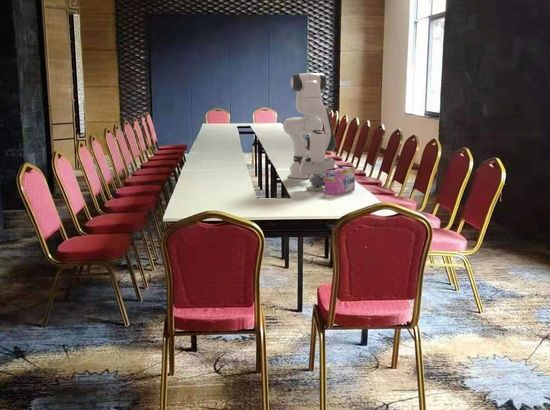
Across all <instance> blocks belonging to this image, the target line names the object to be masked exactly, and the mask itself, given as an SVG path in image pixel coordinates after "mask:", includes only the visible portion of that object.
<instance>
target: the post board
mask: <svg viewBox="0 0 550 410" xmlns="http://www.w3.org/2000/svg"><path fill="white" fill-rule="evenodd" d="M306 190H307V191H308V192H311V191H312V192H314V191H316V192H317V191H318V192H319V191H320V192H321V191H324V190H325V186H312V185H307V186H306ZM324 192H325V191H324Z"/></svg>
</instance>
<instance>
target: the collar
mask: <svg viewBox="0 0 550 410" xmlns="http://www.w3.org/2000/svg"><path fill="white" fill-rule="evenodd" d="M311 179H312V182H310V183H311V185H310V186H323V177H322V176H311Z"/></svg>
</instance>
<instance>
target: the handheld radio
mask: <svg viewBox="0 0 550 410" xmlns="http://www.w3.org/2000/svg"><path fill="white" fill-rule="evenodd" d="M313 176H322V177H323V178H324V177H325V176H324V174H313ZM308 180H309V181H310V179H309V178H308ZM323 186H325V182H323Z"/></svg>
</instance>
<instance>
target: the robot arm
mask: <svg viewBox="0 0 550 410" xmlns="http://www.w3.org/2000/svg"><path fill="white" fill-rule="evenodd" d="M327 83H328V81H327V77H326V75H325V74H324V73H321V72H320V73H319V72H318V73H317V72H316V73H315V72H305V73H304V72H303V73H294V74H293V75H292V76H291V79H290V87H291V90H293V91H295V92H296V97H295V109H296V111H297V112H298V113H300V114H302V115H303V117H301V116H299V117H298V116H297V117H295V116H294V117H288V118H286V119H285V120H284V122H283V124H282V125H283V126H282V128H283V131H284V133H285V134H287V135H288V136H289V137H290V139H291V140H292V142H293V149H294V150H293V153H294V155H293V159H292V161H293V163H292V164H291V166H289V170H290V172H289V174H288V178H293V179H308V180H309V179H310V180H309V182H310V183H311V182H312V179H311V176H313V174H323V175H324V176H325V170H328V169H333V168H335V165H336V160H335V159H334V158H332V157H331V158H327V157H326V152H329V153H330V152H332V151H334V149H335V148H336V147H337V140H336V137H335V134H334V130H333V125H332V120H331V116H330V113H329V110H328V108H327V107H325V105H324V103H323V99H322V91H324V90H325V89H326V87H327ZM323 127H324V130H323ZM303 135H307V136H306V137H305V138H303ZM323 182H325V177H324V178H323Z"/></svg>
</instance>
